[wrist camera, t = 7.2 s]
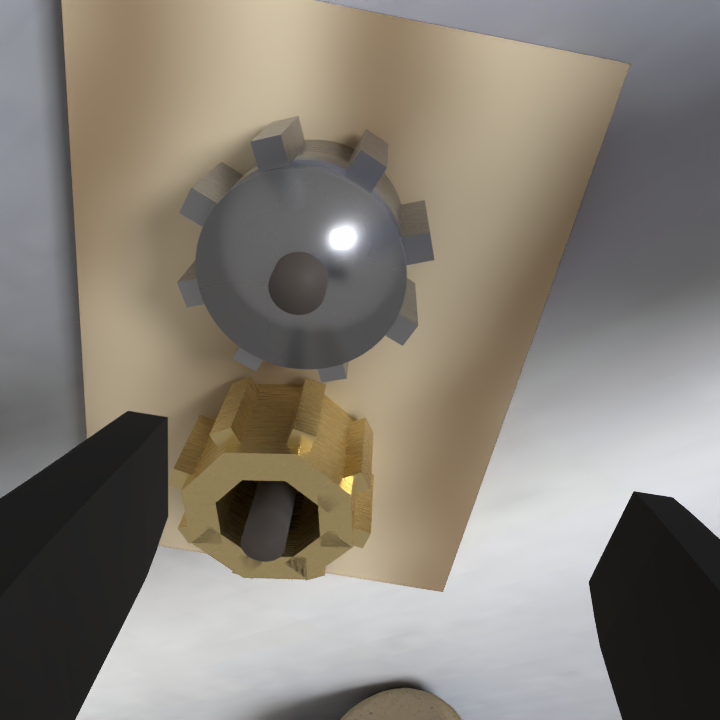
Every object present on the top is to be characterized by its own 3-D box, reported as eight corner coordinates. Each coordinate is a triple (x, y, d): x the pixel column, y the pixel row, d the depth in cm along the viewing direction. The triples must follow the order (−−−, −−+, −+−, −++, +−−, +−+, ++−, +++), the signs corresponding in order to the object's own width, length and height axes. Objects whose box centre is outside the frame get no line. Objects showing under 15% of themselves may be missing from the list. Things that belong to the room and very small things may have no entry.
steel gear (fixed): (446, 141, 15) (459, 173, 12) (399, 340, 18) (400, 405, 15) (219, 97, 15) (175, 118, 12) (207, 306, 18) (169, 365, 15)
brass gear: (374, 511, 21) (370, 593, 18) (213, 507, 21) (184, 587, 18) (373, 371, 18) (369, 439, 15) (188, 368, 19) (149, 435, 16)
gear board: (614, 60, 15) (707, 80, 11) (440, 566, 24) (451, 695, 19) (82, -47, 15) (-59, -74, 10) (106, 511, 23) (36, 631, 19)
